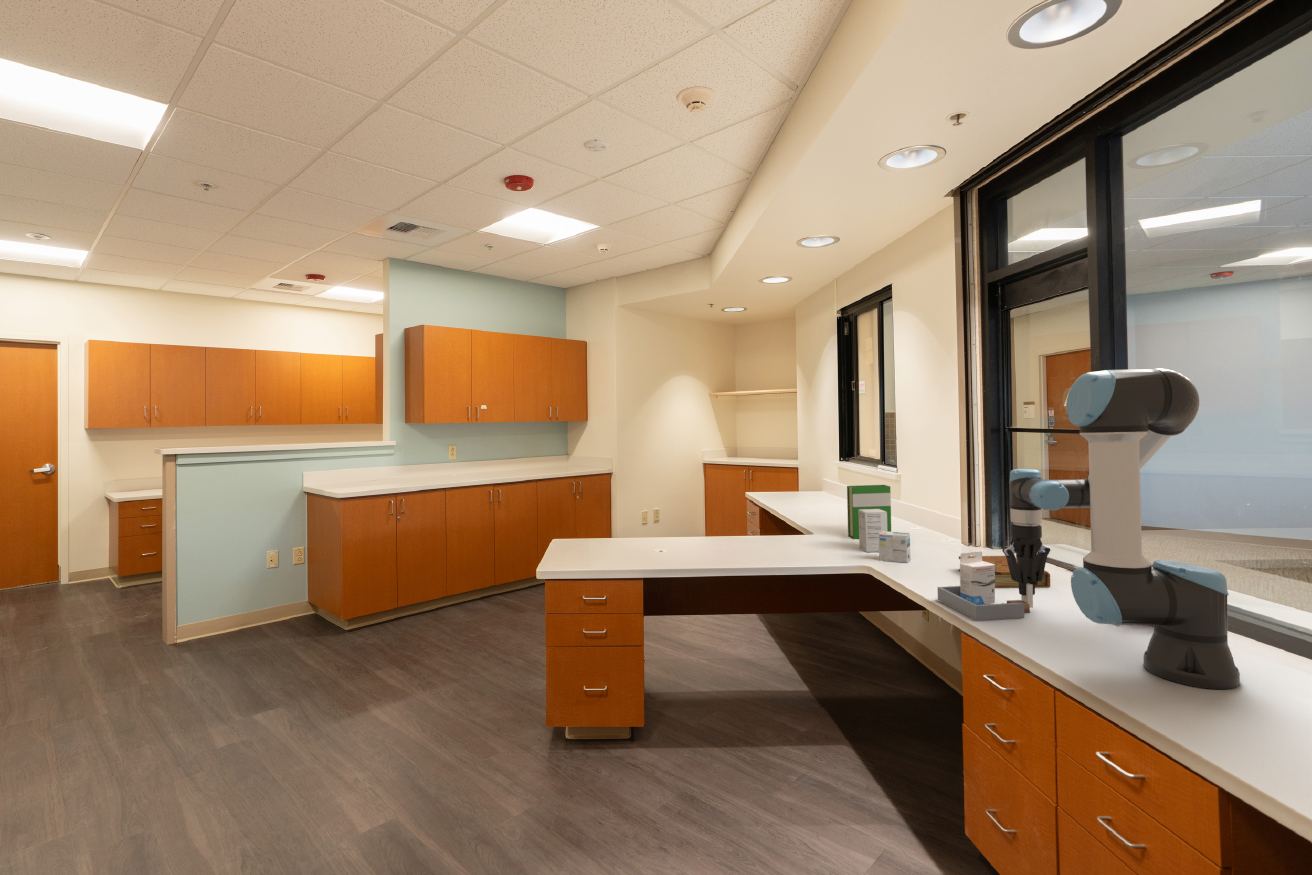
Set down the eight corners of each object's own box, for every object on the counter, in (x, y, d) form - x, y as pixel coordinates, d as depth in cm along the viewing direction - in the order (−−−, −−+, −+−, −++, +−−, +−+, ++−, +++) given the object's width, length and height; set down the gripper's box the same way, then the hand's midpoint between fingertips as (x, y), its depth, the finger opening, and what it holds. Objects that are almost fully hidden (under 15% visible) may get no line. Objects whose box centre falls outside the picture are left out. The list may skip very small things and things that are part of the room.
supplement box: (888, 552, 246) (887, 511, 246) (866, 552, 246) (865, 512, 246) (880, 547, 256) (879, 508, 255) (858, 547, 256) (857, 508, 256)
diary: (1050, 589, 190) (1050, 571, 190) (989, 590, 191) (989, 572, 191) (1012, 570, 213) (1012, 554, 213) (958, 571, 214) (958, 555, 214)
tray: (1024, 617, 163) (1023, 603, 162) (976, 620, 161) (975, 606, 161) (981, 597, 181) (980, 584, 181) (937, 599, 180) (937, 586, 180)
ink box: (973, 606, 173) (972, 556, 173) (959, 601, 178) (958, 553, 178) (996, 603, 176) (995, 553, 175) (982, 598, 181) (981, 550, 180)
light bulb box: (911, 559, 232) (910, 532, 232) (908, 563, 226) (907, 535, 226) (882, 557, 238) (881, 530, 238) (878, 560, 232) (878, 533, 232)
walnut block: (1029, 612, 166) (1029, 604, 166) (1016, 613, 166) (1016, 604, 166) (1019, 608, 170) (1019, 599, 170) (1006, 609, 170) (1006, 600, 170)
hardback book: (853, 539, 274) (852, 487, 273) (848, 536, 281) (846, 485, 281) (891, 538, 274) (890, 486, 274) (885, 535, 282) (883, 484, 281)
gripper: (1038, 520, 172) (1039, 601, 173) (995, 522, 171) (996, 603, 172) (1057, 524, 164) (1058, 609, 165) (1012, 526, 164) (1014, 611, 164)
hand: (1027, 606), depth 168 cm, fingers closed
